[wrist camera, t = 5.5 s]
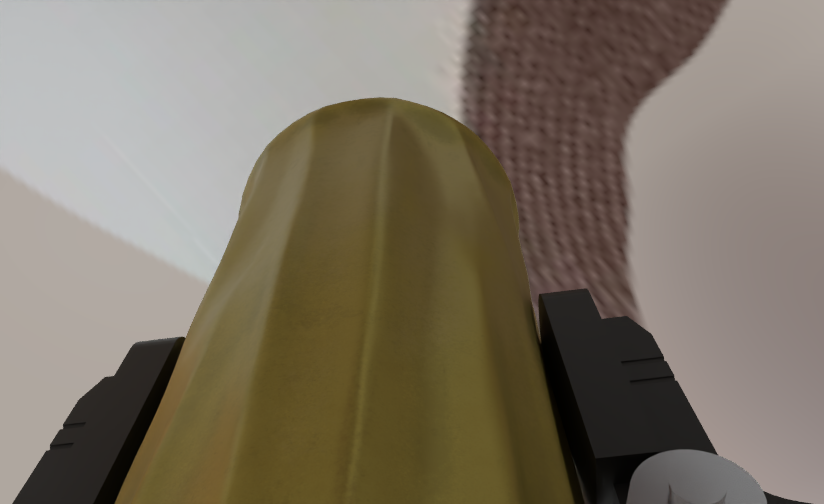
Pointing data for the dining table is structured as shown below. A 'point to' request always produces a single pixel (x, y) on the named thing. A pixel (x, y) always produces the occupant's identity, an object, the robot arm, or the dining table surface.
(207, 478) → the vase
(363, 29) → the dining table surface
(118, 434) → the robot arm
